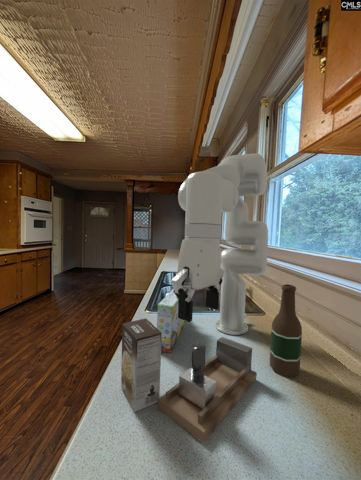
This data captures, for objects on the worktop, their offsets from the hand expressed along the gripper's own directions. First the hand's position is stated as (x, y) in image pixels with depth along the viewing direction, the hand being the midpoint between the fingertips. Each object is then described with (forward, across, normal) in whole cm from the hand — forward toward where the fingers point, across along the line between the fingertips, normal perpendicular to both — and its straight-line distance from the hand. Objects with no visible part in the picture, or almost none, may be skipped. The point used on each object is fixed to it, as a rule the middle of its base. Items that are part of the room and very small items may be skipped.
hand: (199, 313), depth 49 cm
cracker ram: (+18, 0, 0) cm, 18 cm away
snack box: (+21, -20, -26) cm, 39 cm away
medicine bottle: (+21, -32, -36) cm, 52 cm away
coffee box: (+21, +6, -12) cm, 25 cm away
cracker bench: (+21, -6, 0) cm, 22 cm away
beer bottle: (+21, -28, +10) cm, 37 cm away
